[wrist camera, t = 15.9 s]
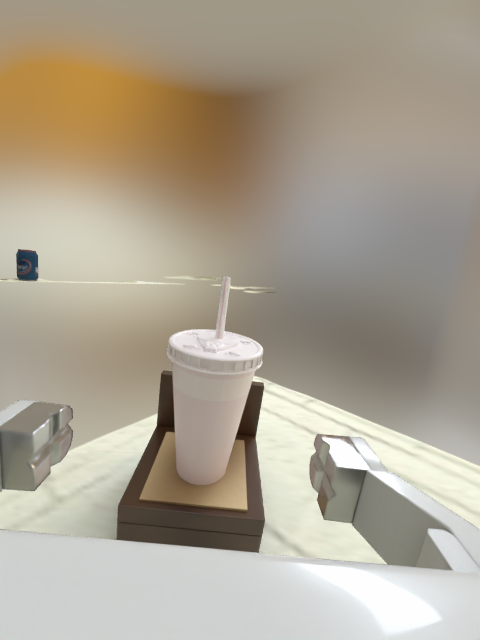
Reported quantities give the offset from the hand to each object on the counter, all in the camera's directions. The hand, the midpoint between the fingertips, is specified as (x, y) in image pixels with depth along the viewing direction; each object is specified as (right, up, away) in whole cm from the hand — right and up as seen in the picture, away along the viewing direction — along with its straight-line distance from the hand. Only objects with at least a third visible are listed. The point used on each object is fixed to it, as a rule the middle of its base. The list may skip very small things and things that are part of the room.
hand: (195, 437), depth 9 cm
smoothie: (-1, -7, +11) cm, 13 cm away
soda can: (-87, +20, +104) cm, 137 cm away
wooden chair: (-2, -11, +13) cm, 17 cm away
